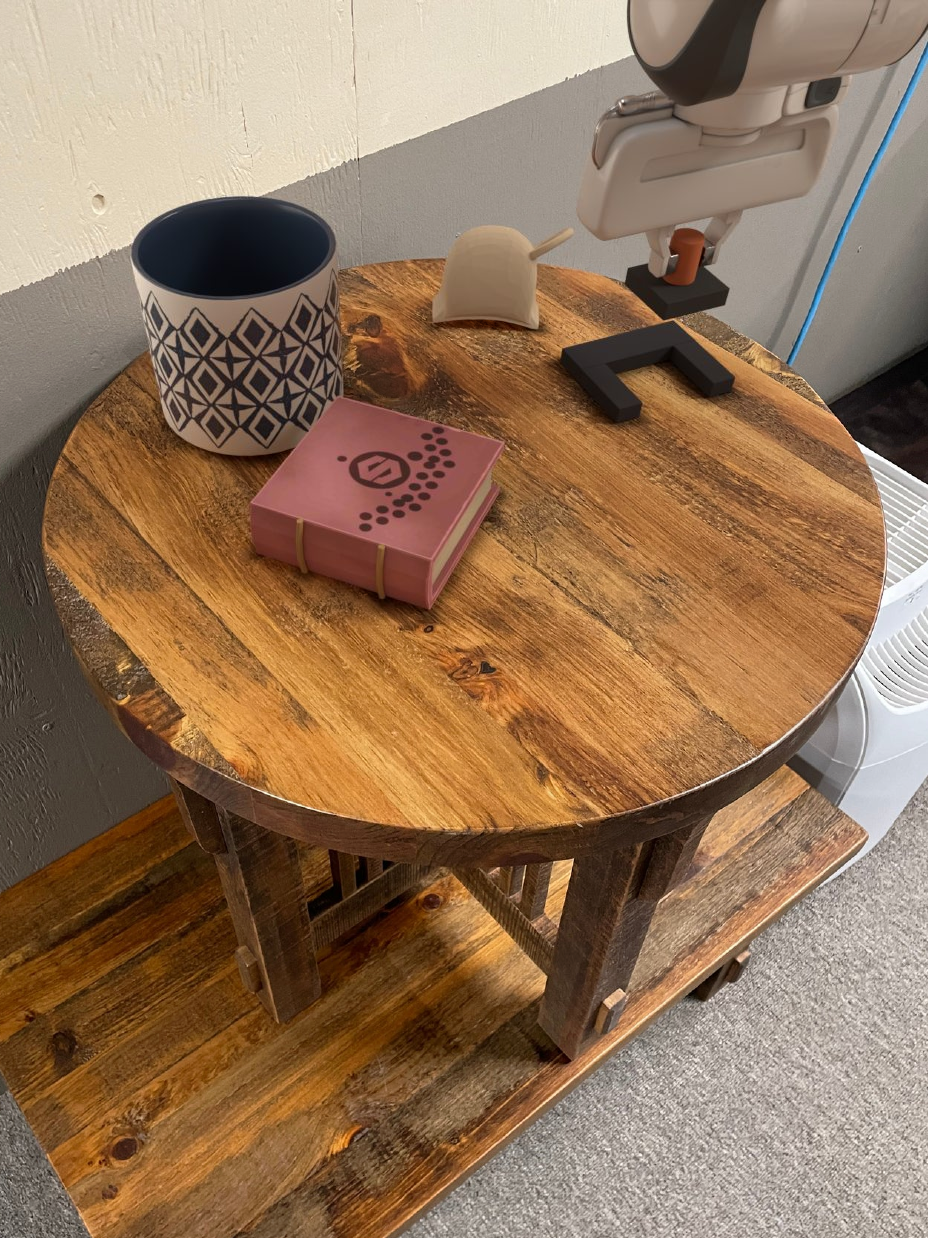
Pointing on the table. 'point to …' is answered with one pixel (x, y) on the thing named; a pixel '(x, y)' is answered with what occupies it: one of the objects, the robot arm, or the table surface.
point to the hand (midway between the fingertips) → (681, 267)
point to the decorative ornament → (493, 276)
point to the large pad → (641, 365)
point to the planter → (241, 321)
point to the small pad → (676, 295)
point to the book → (377, 500)
